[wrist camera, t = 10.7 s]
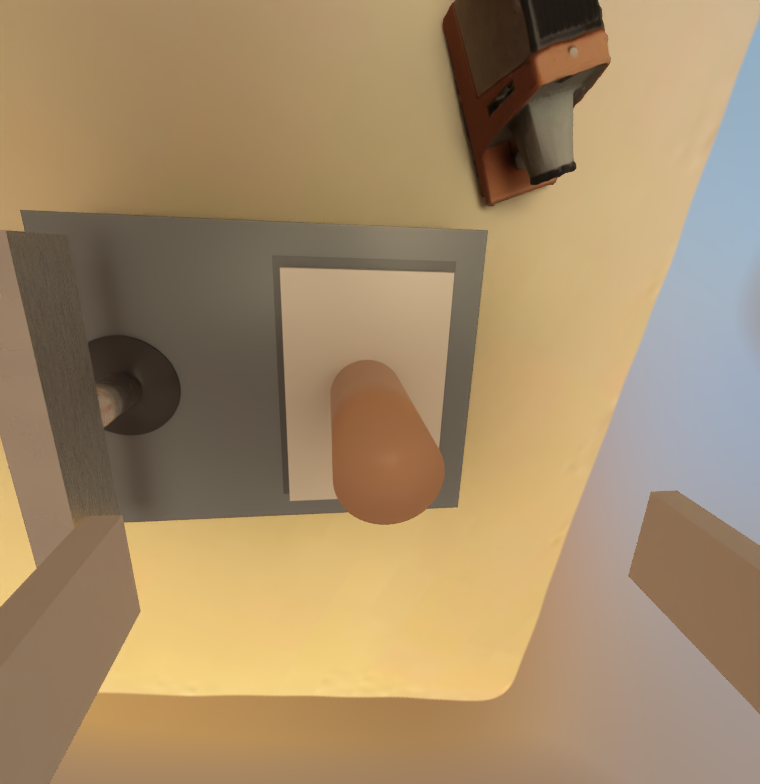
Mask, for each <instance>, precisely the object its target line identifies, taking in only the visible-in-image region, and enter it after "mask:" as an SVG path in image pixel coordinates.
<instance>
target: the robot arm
mask: <svg viewBox="0 0 760 784" xmlns="http://www.w3.org/2000/svg"><path fill="white" fill-rule="evenodd" d="M629 577H630V578H631V579H632V580H633V581H634V582H635V583H636V584H637V586H638V587H639V588H640V589H642V591H643V592H644V593H645V594H646V595H647V596H648V597H649V598H650V599H651V600H652V601H653V602H654V603H655V604H656V606H658V608H659V609H660V610H661V611H662V612H663V613H664V614H665V615H666V616H667V617H668V618H669V619H670V620H671V621H672V622H673V623H674V624H675V625H676V626H677V628H678V629H679V630H680V631H681V632H682V633H683V634H684V635H685V636H686V637H687V638H688V639H689V640H690V641H691V642H692V643H693V644H694V645H695V646H696V648H698V650H699V651H700V652H701V653H702V654H703V655H704V656H705V657H706V658H707V659H708V660H709V661H710V662H711V663H712V664H713V665H714V666H715V667H716V668H717V670H718V671H719V672H720V673H721V674H722V675H723V676H724V677H725V678H726V679H727V680H728V681H729V682H730V683H731V684H732V685H733V686H734V687H735V688H736V689H737V691H738V692H739V693H740V694H741V695H742V696H743V697H744V698H745V699H746V700H747V701H748V702H749V703H750V704H751V705H752V706H753V707H754V708H755V710H756V711H757V712H758V713H759V714H760V545H758V544H757V543H755V542H754V541H752V540H750V539H749V538H748V537H746V536H745V535H743V534H741V533H740V532H738V531H737V530H735V529H734V528H732V527H731V526H729V525H728V524H726V523H725V522H723V521H722V520H720V519H719V518H717V517H716V516H714V515H713V514H711V513H710V512H708V511H707V510H705V509H704V508H702V507H701V506H699V505H698V504H696V503H695V502H693V501H692V500H690V499H689V498H687V497H686V496H684V495H683V494H681V493H680V492H678V491H659V492H651V493H650V497H649V501H648V505H647V509H646V512H645V516H644V520H643V523H642V527H641V531H640V534H639V538H638V542H637V546H636V549H635V553H634V557H633V560H632V564H631V568H630V572H629ZM139 613H140V606H139V601H138V595H137V590H136V585H135V580H134V574H133V569H132V564H131V559H130V553H129V548H128V543H127V538H126V532H125V527H124V522H123V516H122V515H110V516H87V517H84V519H83V520H82V521H81V522H80V523H79V524H78V525H77V526H76V527H75V528H74V529H73V530H72V531H71V532H70V534H69V535H68V536H67V537H66V538H65V539H64V540H63V541H62V542H61V543H60V544H59V545H58V546H57V547H56V548H55V550H54V551H53V552H52V553H51V554H50V555H49V556H48V557H47V558H46V559H45V560H44V561H43V562H42V563H41V564H40V566H39V567H38V568H37V569H36V570H35V571H34V572H33V573H32V574H31V575H30V576H29V577H28V578H27V579H26V581H25V582H24V583H23V584H22V585H21V586H20V587H19V588H18V589H17V590H16V591H15V592H14V593H13V594H12V595H11V597H10V598H9V599H8V600H7V601H6V602H5V603H4V604H3V605H2V606H1V607H0V784H49V783H50V782H51V779H52V778H53V776H54V774H55V772H56V770H57V768H58V766H59V764H60V763H61V761H62V759H63V757H64V755H65V753H66V751H67V749H68V747H69V746H70V744H71V742H72V740H73V738H74V736H75V734H76V732H77V730H78V728H79V727H80V725H81V723H82V721H83V719H84V717H85V715H86V713H87V712H88V710H89V708H90V706H91V704H92V702H93V700H94V698H95V696H96V695H97V693H98V691H99V689H100V687H101V685H102V683H103V681H104V679H105V677H106V676H107V674H108V672H109V670H110V668H111V666H112V664H113V662H114V660H115V659H116V657H117V655H118V653H119V651H120V649H121V647H122V645H123V643H124V642H125V640H126V638H127V636H128V634H129V632H130V630H131V628H132V626H133V624H134V623H135V621H136V619H137V617H138V615H139Z"/></svg>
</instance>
